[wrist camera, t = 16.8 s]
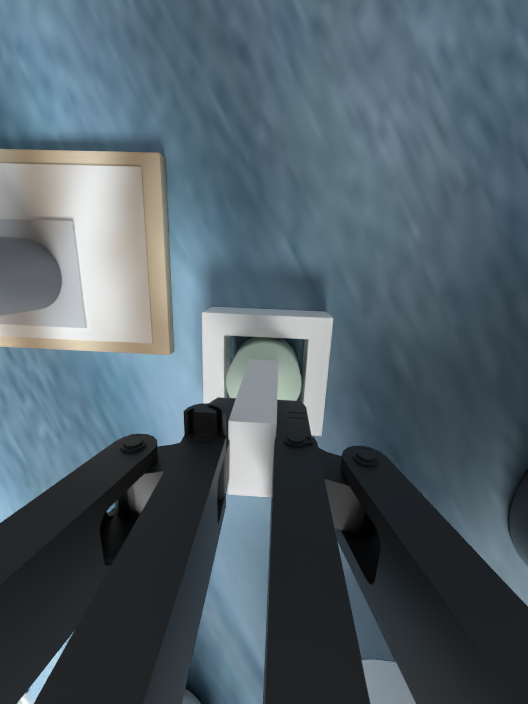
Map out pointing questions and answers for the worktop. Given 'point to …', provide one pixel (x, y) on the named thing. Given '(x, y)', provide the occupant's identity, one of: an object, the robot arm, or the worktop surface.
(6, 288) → the marker
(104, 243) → the wooden picture frame
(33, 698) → the soap
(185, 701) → the teacup
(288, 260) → the worktop surface
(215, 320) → the button housing
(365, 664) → the cylinder
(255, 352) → the button
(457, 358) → the worktop surface
